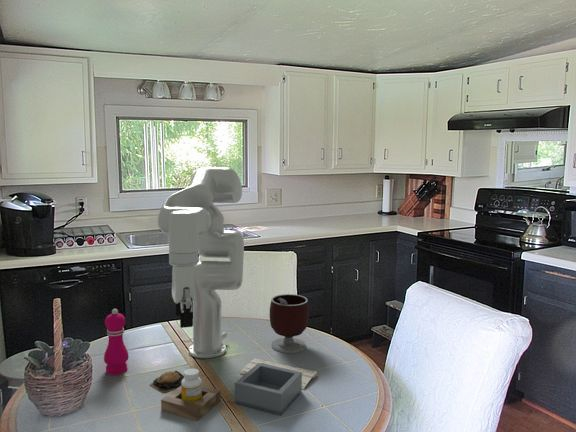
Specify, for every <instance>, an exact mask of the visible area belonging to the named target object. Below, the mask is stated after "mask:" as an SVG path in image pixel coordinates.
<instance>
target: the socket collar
mask: <svg viewBox="0 0 576 432" xmlns="http://www.w3.org/2000/svg"><path fill="white" fill-rule="evenodd" d="M221 401H222V391H221V389H217V388H215V387H214V388H213V387H210V386H209V387H208V386H206V385H202V398H200V399H199V400H198V401H197V402H195V403H193V402H189V401H185V400H181V386H180V387H178V388H177V389H174V390H172V392H171V391H170V393H169V394H167V395H166V396H164V397H163V398H161V400H160V404H161V405H160V409H161V411H162V412H166V413H170V414H172V415H176V416H179V417H183V418H186V419H190V420H194V421H196V422H197V421H199V420H201V418H203V416H204V415H206V414H207V413H208V412H209V411H210V410H212V409H213V408H214V407H216V405H217V404H219V403H220V402H221Z"/></svg>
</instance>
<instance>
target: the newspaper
mask: <svg viewBox="0 0 576 432" xmlns="http://www.w3.org/2000/svg"><path fill="white" fill-rule="evenodd" d="M258 363H261V364H266V365H270V366H275V367H279V368H284V369H288V370H293V371H298V372H302V389H301V391H302V390H303V391H304V390H305V389H306V387H307V385H308V384H309V382H310V381H311V379H314V378H317V376H318V372H317V370H312V369H307V368H301V367H297V366H291V365H286V364H282V363H279V362H273V361H270V360H268V361H267V360H263V359H259V358H253V359H252V360H250V361H249V362H248V363H247V364H246V365H245V366H244V367H243V368H242V369H241V370H240V372H239V374H240V375H242V376H244V375H245V374H246V373H247V372H248V371H250V370H251V369H252V368H253V367H254V366H256V365H257V364H258Z"/></svg>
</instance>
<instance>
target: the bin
mask: <svg viewBox="0 0 576 432" xmlns="http://www.w3.org/2000/svg"><path fill="white" fill-rule="evenodd" d="M301 393H302V372H298V371H293V370H288V369H284V368H279V367H275V366H270V365H266V364H261V363H258V364H257V365H256V366H254V367H253V368H252V369H251V370H250V371H248V372H247V373H246V374H245V375H242V377H240V378H239V379H238V380H237V381H235V382H234V404H235V405H240V406H243V407H246V408H250V409H255V410H259V411H262V412H266V413H270V414H274V415H276V416H277V415H278V416H282V415H283V414H284V413H285V412H286V411H287V409H288V408H289V407H290V406H291V405H292V403H294V401H295V400H297V398H298V397H299V395H300V394H301Z"/></svg>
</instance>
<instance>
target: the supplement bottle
mask: <svg viewBox="0 0 576 432" xmlns="http://www.w3.org/2000/svg"><path fill="white" fill-rule="evenodd" d="M183 375H184V379H183V380H182V382H181V400H185V401H189V402H193V403H195V402H197V401H198V400H199V399H200V398H202V386H203V385H202V384H203V382H202V378H201V377H200V371H199V369H197V368H187V369H185V370H184V371H183Z"/></svg>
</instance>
